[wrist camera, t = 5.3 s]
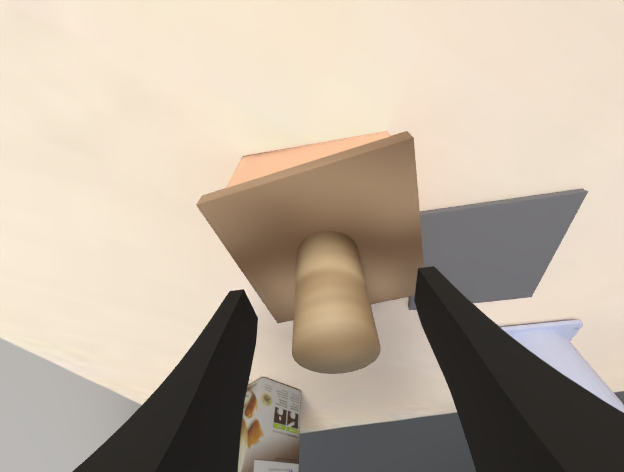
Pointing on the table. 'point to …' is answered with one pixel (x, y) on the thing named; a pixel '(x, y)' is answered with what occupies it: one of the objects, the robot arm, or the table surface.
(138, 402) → the table surface
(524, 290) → the mat
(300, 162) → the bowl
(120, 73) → the table surface
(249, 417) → the coffee box
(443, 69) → the table surface
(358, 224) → the lid
